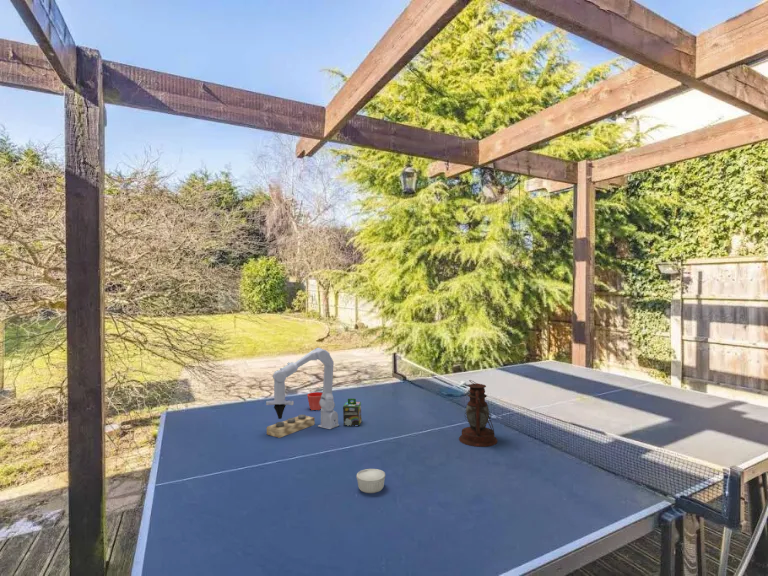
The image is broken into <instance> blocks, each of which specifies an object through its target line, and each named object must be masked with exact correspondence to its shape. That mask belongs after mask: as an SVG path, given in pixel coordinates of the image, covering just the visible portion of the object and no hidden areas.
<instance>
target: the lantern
mask: <svg viewBox="0 0 768 576" xmlns="http://www.w3.org/2000/svg"><path fill="white" fill-rule="evenodd" d="M468 381H469V382H470V383H471V384H468V385H467V386H468V387H469V393H468V394H467V397H469V401H468V402H467V404H466V408H465V412H464V418H465V420H467V423H468V424H469V426H467V427H463V428H462V429H461V435H460V436H459V437H458V440H459V443H461V444H463V445H465V446H469V447H476V448H486V447H488V448H489V447H492V446H494V445H495V446H496V445H497V444H498V439H497V437H495V436H496V435H495V429H494V426H493V425H494V424H493V422H492V420H491V417H492V416H491V415H492V414H491V412H490V410H489V405H488V403H487V402H486V398H487V397H488V395H487V394H485V393H486V390H485V388H487V386H486V385H487V384H486V385H485V384H483V383H477V382H475V381H474V380H471V379H469V380H468ZM489 421H490V422H489ZM487 425H489V427H486V426H487Z"/></svg>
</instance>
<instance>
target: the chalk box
mask: <svg viewBox="0 0 768 576" xmlns="http://www.w3.org/2000/svg"><path fill="white" fill-rule="evenodd" d="M342 411H343V412H342V414H343V415H342V416H343V426H344V425H347V426H346V427H356V426H355V425H359V426H361V423H362V422H363V421H362V402H361V401H357V400H356V398H347V401H346V402H345V403H344V405H343V406H342ZM349 425H350V426H349ZM352 425H354V426H352Z"/></svg>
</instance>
